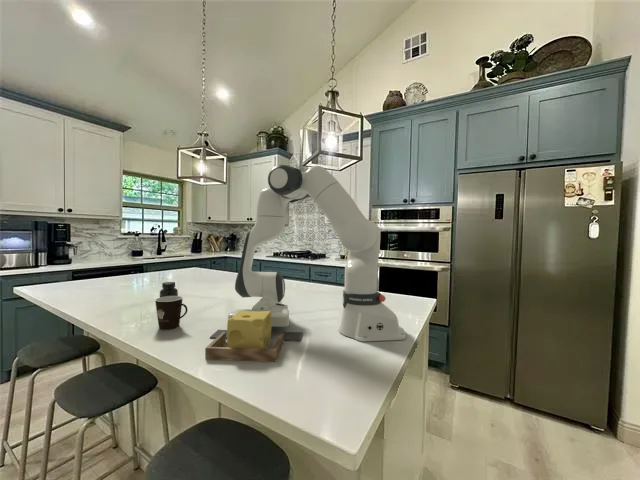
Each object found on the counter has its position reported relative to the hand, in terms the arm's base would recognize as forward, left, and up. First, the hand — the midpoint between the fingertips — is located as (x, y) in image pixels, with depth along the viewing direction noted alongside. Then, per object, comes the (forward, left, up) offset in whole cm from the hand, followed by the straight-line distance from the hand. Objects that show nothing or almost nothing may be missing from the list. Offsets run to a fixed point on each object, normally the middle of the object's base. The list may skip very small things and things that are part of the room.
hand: (253, 325), depth 91 cm
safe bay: (0, +7, -5) cm, 8 cm away
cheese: (0, +5, -5) cm, 7 cm away
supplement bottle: (+44, -30, -5) cm, 53 cm away
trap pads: (0, -5, -5) cm, 7 cm away
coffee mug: (+32, -10, -5) cm, 34 cm away
